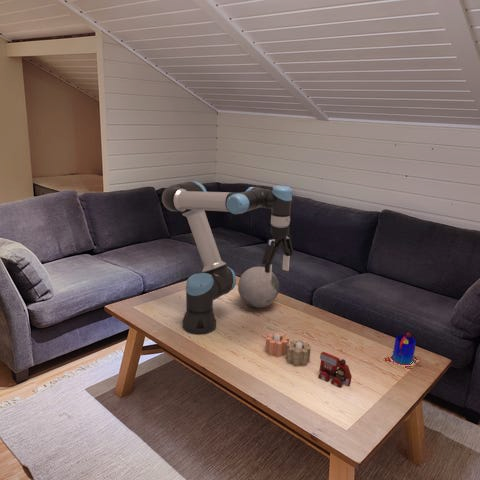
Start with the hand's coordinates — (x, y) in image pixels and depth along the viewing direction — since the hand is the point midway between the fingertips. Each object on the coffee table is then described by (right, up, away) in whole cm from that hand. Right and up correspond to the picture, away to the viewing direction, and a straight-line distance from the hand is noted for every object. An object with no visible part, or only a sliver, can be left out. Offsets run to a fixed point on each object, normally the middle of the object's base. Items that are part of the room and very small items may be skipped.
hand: (276, 274), depth 183 cm
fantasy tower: (+50, -34, -6) cm, 61 cm away
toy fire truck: (+19, -38, -21) cm, 47 cm away
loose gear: (-1, -30, -5) cm, 31 cm away
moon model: (-7, -18, +37) cm, 41 cm away
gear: (+7, -32, -11) cm, 35 cm away
